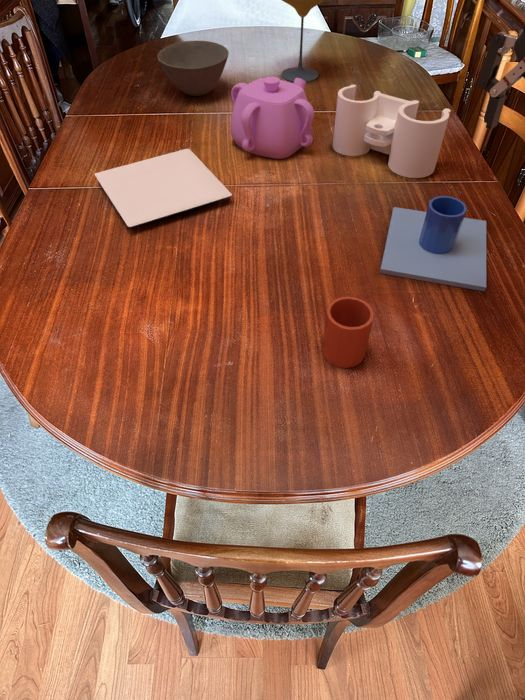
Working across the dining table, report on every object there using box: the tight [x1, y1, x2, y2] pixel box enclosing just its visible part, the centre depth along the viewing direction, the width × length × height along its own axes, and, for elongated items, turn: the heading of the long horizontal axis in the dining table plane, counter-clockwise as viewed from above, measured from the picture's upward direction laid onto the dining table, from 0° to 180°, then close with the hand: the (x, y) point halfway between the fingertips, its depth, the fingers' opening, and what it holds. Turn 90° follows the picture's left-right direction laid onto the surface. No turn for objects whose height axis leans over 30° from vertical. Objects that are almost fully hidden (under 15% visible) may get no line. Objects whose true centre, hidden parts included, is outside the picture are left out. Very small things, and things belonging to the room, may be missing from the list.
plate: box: [94, 148, 233, 228], centre depth 107 cm, size 22×22×2 cm
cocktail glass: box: [281, 0, 327, 83], centre depth 139 cm, size 18×18×25 cm
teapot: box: [230, 75, 315, 160], centre depth 118 cm, size 19×21×14 cm
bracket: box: [332, 84, 452, 179], centre depth 113 cm, size 25×10×12 cm, turn 54°
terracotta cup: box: [321, 296, 375, 369], centre depth 75 cm, size 7×7×8 cm
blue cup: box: [419, 195, 468, 254], centre depth 91 cm, size 6×6×8 cm
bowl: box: [157, 40, 230, 97], centre depth 137 cm, size 19×19×10 cm
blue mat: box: [379, 206, 487, 292], centre depth 95 cm, size 18×20×1 cm
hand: (524, 135), depth 64 cm, fingers open, 8 cm apart
